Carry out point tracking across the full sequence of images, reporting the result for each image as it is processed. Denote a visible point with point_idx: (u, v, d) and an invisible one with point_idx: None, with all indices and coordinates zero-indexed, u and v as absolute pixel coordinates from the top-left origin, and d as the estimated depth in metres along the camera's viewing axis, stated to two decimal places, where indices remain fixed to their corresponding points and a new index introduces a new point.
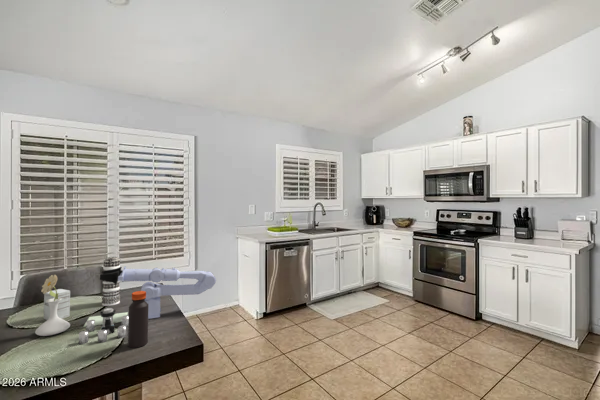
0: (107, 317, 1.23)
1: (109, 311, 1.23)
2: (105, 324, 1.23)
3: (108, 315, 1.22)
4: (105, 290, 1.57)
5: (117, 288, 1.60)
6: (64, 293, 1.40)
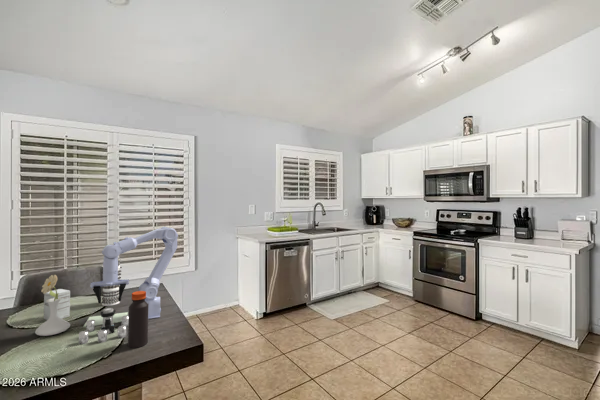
0: (107, 317, 1.23)
1: (109, 311, 1.23)
2: (105, 324, 1.23)
3: (108, 315, 1.22)
4: (105, 290, 1.57)
5: (117, 288, 1.60)
6: (64, 293, 1.40)
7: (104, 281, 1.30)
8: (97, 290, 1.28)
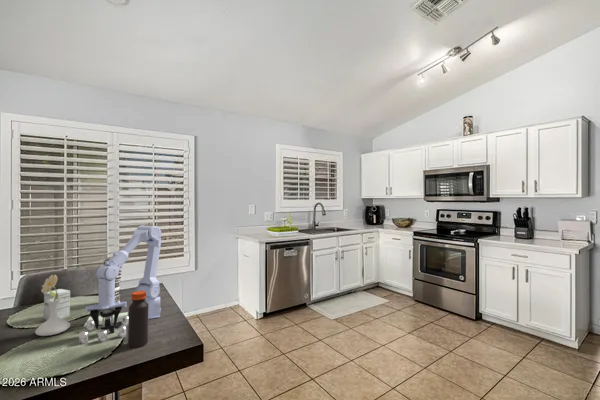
0: (107, 317, 1.23)
1: (108, 311, 1.23)
2: (105, 324, 1.23)
3: (107, 315, 1.22)
4: None
5: (117, 288, 1.60)
6: (64, 293, 1.40)
7: (100, 305, 1.21)
8: (94, 314, 1.20)
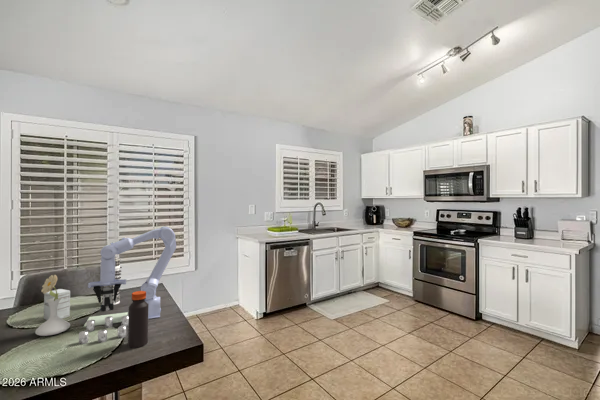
0: (107, 294, 1.32)
1: (108, 289, 1.33)
2: (105, 301, 1.32)
3: (108, 292, 1.32)
4: None
5: None
6: (64, 293, 1.40)
7: (101, 281, 1.32)
8: (97, 290, 1.31)
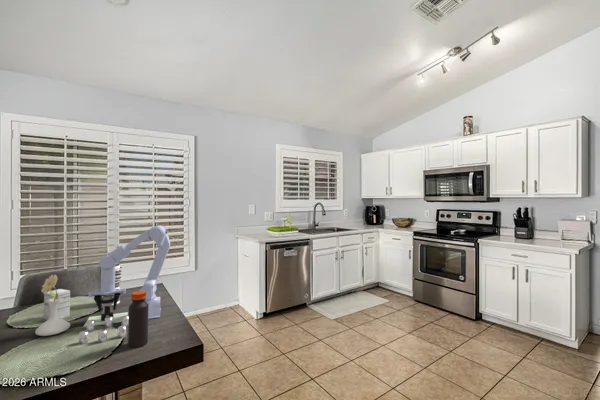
0: (107, 304, 1.36)
1: (108, 298, 1.37)
2: (105, 310, 1.36)
3: (108, 301, 1.36)
4: None
5: (117, 288, 1.60)
6: (64, 293, 1.40)
7: (102, 291, 1.36)
8: (98, 299, 1.35)
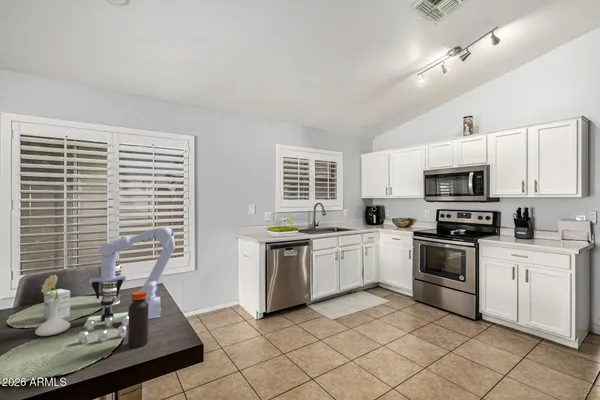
0: (107, 305, 1.35)
1: (109, 300, 1.36)
2: (105, 312, 1.36)
3: (108, 303, 1.35)
4: (105, 290, 1.57)
5: None
6: (64, 293, 1.40)
7: (102, 277, 1.37)
8: (96, 286, 1.35)
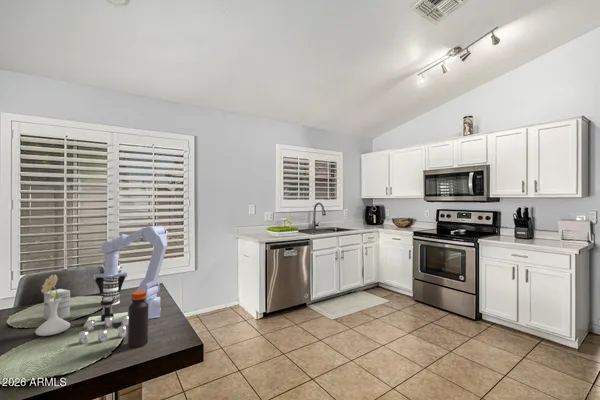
0: (107, 305, 1.36)
1: (109, 300, 1.36)
2: (105, 312, 1.36)
3: (108, 303, 1.35)
4: (105, 290, 1.57)
5: (117, 288, 1.60)
6: (64, 293, 1.40)
7: (105, 273, 1.44)
8: (99, 281, 1.43)
